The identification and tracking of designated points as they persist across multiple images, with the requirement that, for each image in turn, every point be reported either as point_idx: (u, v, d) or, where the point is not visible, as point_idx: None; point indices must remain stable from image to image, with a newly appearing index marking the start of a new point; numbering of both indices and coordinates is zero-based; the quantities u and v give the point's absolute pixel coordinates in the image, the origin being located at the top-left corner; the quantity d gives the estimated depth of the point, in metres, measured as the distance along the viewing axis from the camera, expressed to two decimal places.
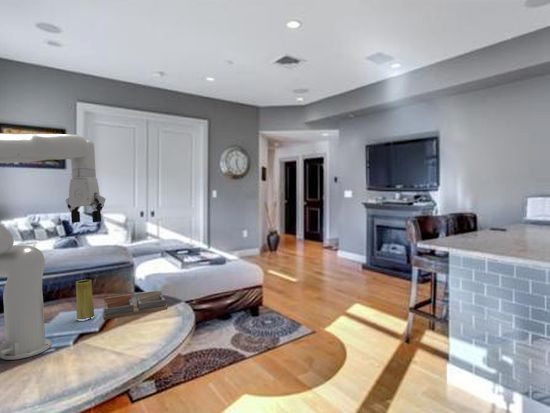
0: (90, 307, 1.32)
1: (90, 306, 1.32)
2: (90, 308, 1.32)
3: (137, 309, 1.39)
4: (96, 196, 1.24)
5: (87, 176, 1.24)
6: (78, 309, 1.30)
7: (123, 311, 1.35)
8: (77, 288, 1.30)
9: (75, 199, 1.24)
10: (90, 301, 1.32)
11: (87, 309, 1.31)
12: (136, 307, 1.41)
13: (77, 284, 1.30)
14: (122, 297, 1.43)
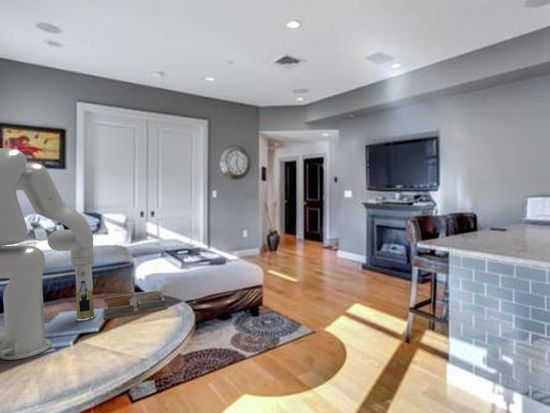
0: (90, 307, 1.32)
1: (90, 306, 1.32)
2: (90, 308, 1.32)
3: (137, 309, 1.39)
4: None
5: None
6: (78, 309, 1.30)
7: (123, 311, 1.35)
8: None
9: None
10: (90, 301, 1.32)
11: None
12: (136, 307, 1.41)
13: None
14: (122, 297, 1.43)
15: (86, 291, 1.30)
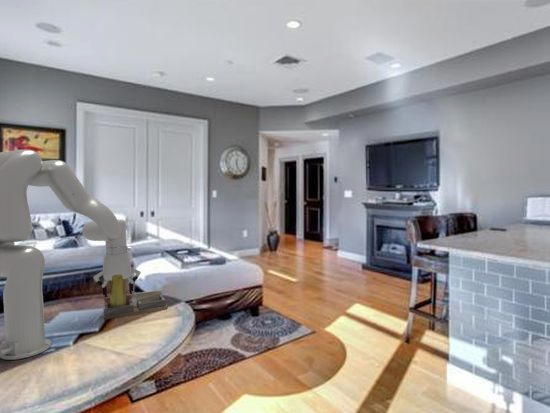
0: None
1: None
2: None
3: (137, 309, 1.39)
4: None
5: None
6: (123, 299, 1.37)
7: (123, 311, 1.35)
8: (121, 280, 1.37)
9: None
10: None
11: None
12: (136, 307, 1.41)
13: (121, 276, 1.37)
14: None
15: None
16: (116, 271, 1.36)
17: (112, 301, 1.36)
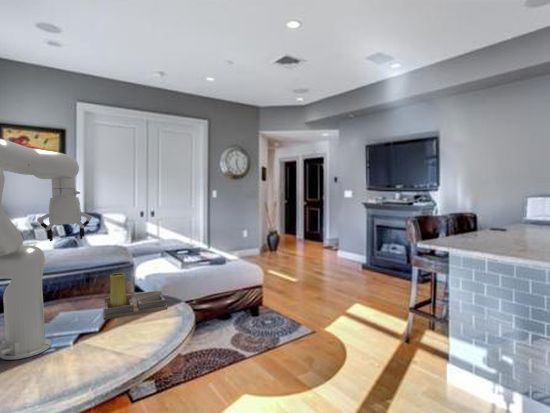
0: None
1: None
2: None
3: (137, 309, 1.39)
4: None
5: None
6: (123, 299, 1.37)
7: (123, 311, 1.35)
8: (121, 280, 1.37)
9: None
10: None
11: None
12: (136, 307, 1.41)
13: (121, 276, 1.37)
14: None
15: None
16: (62, 214, 1.28)
17: (112, 301, 1.36)
